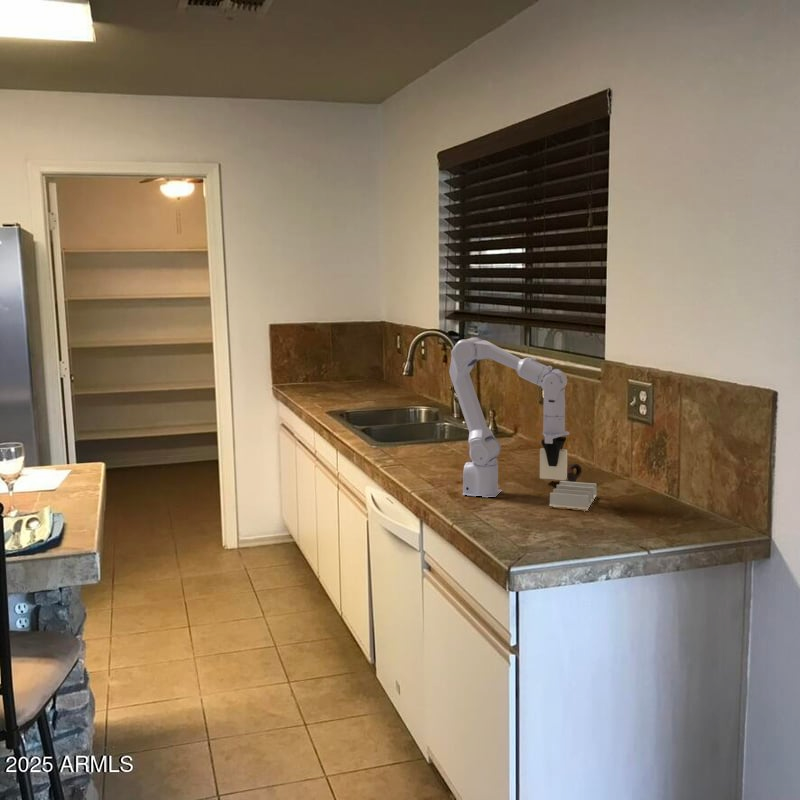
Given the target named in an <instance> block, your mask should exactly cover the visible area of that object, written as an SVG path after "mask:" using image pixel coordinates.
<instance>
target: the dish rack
mask: <svg viewBox="0 0 800 800" xmlns="http://www.w3.org/2000/svg"><path fill="white" fill-rule="evenodd" d="M597 485H598V484H597V483H593V482H580V481H579V482H578V481H576V482H568V481H567V480H559V484H556V488H555V487H554V488H553V490H552V492H550V493H549V506H553V507H567V508H578V509H586V510H588V508H589V507H590V505H591V503H592V502H593V501H594V499H595V497H596V496H598V494H597ZM595 500H596V499H595ZM594 502H595V501H594ZM594 502H593V503H594ZM591 506H592V505H591ZM590 508H591V507H590ZM588 511H589V510H588Z"/></svg>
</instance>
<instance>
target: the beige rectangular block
mask: <svg viewBox="0 0 800 800" xmlns="http://www.w3.org/2000/svg"><path fill="white" fill-rule="evenodd" d="M567 465H568V449H563V448H562V449H560V452H559V458H558V463H557V466H549V465H548V461H547V456H546V452H545V449H544V447H541V448H540V449H539V479H542V480H549V479H554V480H556V481H557V480H558V481H567V480H568V478H567Z"/></svg>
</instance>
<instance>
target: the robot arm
mask: <svg viewBox="0 0 800 800" xmlns="http://www.w3.org/2000/svg"><path fill="white" fill-rule="evenodd" d="M450 354H451V359H450V363H449V364H450V365H449V371H448V372H449V376H450V380H451V383H452V386H453V388H454V392H455V395H456V397H457V401H458V404H459V405H460V406H459V407H460V409H461V412H462V415H463V417H464V422H465V424H466V427H467V430H468V432H469V435H468V441H467V443H468V445H469V451H468V453H469V458H470V460H471V461H467V462H465V464H464V466H463V471H462V489H463V490H462V491H463V492H462V496H465V495H467V497H476V496H482V497H481V498H488V497H496V496H497V495H498V494H499V493H500V492H501V491H502V492H503V490H502V489H499V482H498V481H499V460H498V457H499V455H500V453H501V450H502V449H501V443H500V442H499V441H498V439H497V438H496V437H495V435H494V434H493V431H492V430H491V429H490V428H489V427H488V425H487V421H486V418H485V415H484V413H483V410H482V407H481V404H480V401H479V399H478V395H477V392H476V390H475V389H476V388H475V387H474V384H473V380H472V378H471V375H470V373H471V371H472V370H473V368H474V366H475V364H476V363H477V362H478V361H480V360H493V361H495V362H497V363H499V364H501V365H504V366H506V367H508V368H511V369H514V370H515V371H516V374H517V376H518V377H520V378H521V379H523V380H526V381H528V382H530V383H531V384H534V385H537V386H538V387H541V390H543V399H542V400H543V402H542V403H543V407H542V409H543V414H542V415H543V417H542V418H543V421H542V423H543V424H542V425H543V426H542V428H543V429H542V435H543V436H544V439H541V445H542V448H544V449H545V452H546V456H547V461H548V465H549V466H557V463H558V458H559V452H560V449H563V447H564V445H565V443H566V441H567V437H566V436H569V435H570V431H568V430H566V398H565V397H566V396H565V395H566V393H565V392H566V389H565V387H566V386H567V385H568V377H567V374H566V373H565V372H564V371H562V370H561V369H558V368H554V369H553V366H551V365H548V366H547V365H545V364H543V363H541V362H539V361H538V360H537V359H538V358H536V357H534V356H533V357H524V358H522V359H521V358H520V357H518V356H517V355H514V354H512V353H511V352H509V351H508V350H505V349H503V348H501V347H499V346H497V345H496V344H494V343H492V342H490V341H488V340H485V339H482V338H480V337H476V336H472V337H469V338H466V339H465V338H464V339H460V340H458V341H457V342H456V343H455V345H454V346H453V348H452V349H451V351H450ZM502 492H501V493H502ZM501 493H500V494H501ZM500 494H499V495H500ZM499 495H498V496H499ZM498 496H497V497H498ZM497 497H496V498H497Z"/></svg>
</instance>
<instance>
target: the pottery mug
mask: <svg viewBox="0 0 800 800" xmlns="http://www.w3.org/2000/svg"><path fill="white" fill-rule="evenodd" d="M574 469H575V470H576V471H575V473H574ZM582 471H583V470H582V466H581V465H580V464H579V463H576V462H575V463H571V464H567V479H566V481H568V482H577V480H578V478H580V476H581V475H582ZM548 480H549V481H550V480H554V479H548Z"/></svg>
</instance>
